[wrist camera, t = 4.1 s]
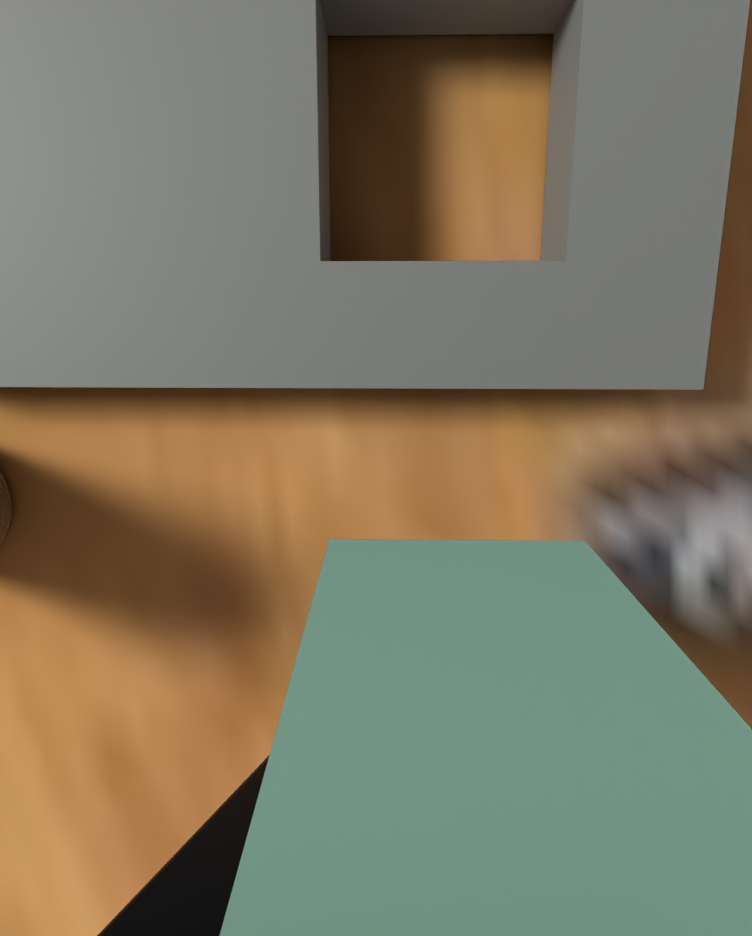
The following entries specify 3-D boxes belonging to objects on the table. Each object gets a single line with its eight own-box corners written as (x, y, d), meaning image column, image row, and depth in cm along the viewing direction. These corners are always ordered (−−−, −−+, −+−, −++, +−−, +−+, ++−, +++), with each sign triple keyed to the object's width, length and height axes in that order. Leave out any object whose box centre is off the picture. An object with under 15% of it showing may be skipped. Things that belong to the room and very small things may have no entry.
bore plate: (657, 380, 17) (703, 389, 14) (-79, 377, 17) (-157, 386, 15) (707, -107, 14) (774, -198, 12) (-156, -95, 15) (-265, -179, 12)
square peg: (567, 762, 11) (1053, 1975, 3) (333, 757, 11) (180, 1925, 3) (584, 541, 10) (1379, 1438, 2) (329, 539, 10) (92, 1393, 2)
